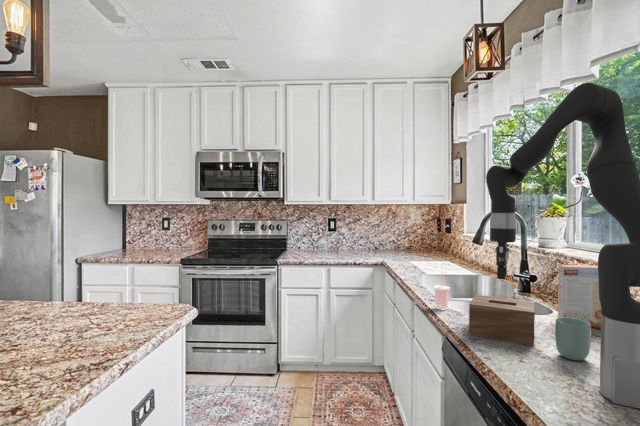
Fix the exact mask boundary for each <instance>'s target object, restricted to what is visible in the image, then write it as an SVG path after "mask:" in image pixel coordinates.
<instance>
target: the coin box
mask: <svg viewBox="0 0 640 426" xmlns="http://www.w3.org/2000/svg"><path fill="white" fill-rule="evenodd" d="M468 311H469V312H468V313H469V315H468V335H469V336H470V337H471V336H473V337H479V338H483V339H484V338H485V339H490V340H496V341H500V342H501V341H502V342H507V343H514V344H519V345H526V346H533V347H534V346H535V311H536V310H535V301H533V300H524V299H517V298H506V297H501V296H500V297H499V296H490V295H484V294H483V295H482V294H474V297H473V298H472V299H471V301H470V302H469V310H468Z"/></svg>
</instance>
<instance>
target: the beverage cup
mask: <svg viewBox="0 0 640 426" xmlns="http://www.w3.org/2000/svg"><path fill="white" fill-rule="evenodd" d="M443 275H444V274H443V273H442V274H441V276H440V279H441V280H440V282H441V284H440V285H438V284H437V285H434V286H433V288H434V304H435V305H434V306H435V307H436V308H437V309H448V307H449V296H450V290H451V287H450V286H447V285H443V278H444V277H443ZM437 309H436V310H437Z"/></svg>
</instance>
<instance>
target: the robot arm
mask: <svg viewBox="0 0 640 426" xmlns="http://www.w3.org/2000/svg"><path fill="white" fill-rule="evenodd" d="M575 121H578V122H581V123H584V124H587V125H588V126H589V128H590V131H591V133H592V138H593V141H594V147H593V151H592V153H591V154H590V157H589V158H588V162H587V165H586V175H587V179H588V183H589V188H590V191H591V192H590V193H591V195H592V196H593V197H594V199H595V200H596V202H597V203H598V204H599V205H600V206H601V207H602V209H604V210H606V212H607V213H609V214H610V215H611V216H612V217H613V218H614V219H615V220H616V221H617V222H618V223H619V224H620V226H621V227H622V229H623V230H624V233H625V234H626V236H627V240H628V242H629V243H626V242H623V243H622V242H611V243H606V244H605V245H603V246H602V247H601V248H600V251H599V253H598V257H597V266H598V279H599V299H600V304H601V328H600V348H599V349H600V357H599V392H600V394H601V395H602V396H604V397H605V398H607V399H608V400H610V401H611V402H612V403H613V404H615V405H621V406H626V407H631V408H634V409H639V410H640V301H638V300H636V299H635V298H633V296H632V295H631V289H630V287H631V288H640V174H639V170H638V167H637V164H636V162H635V159H634V156H633V152H632V148H631V145H630V141H629V138H628V133H627V130H626V122H625V115H624V106H623V101H622V98H621V96H620V95H619V93H618V92H616V91H615V90H613V89H612V88H609V87H605V86H604V85H603V86H602V85H599V84H597V83H593V82H584V83H581V84H579V85H577V86H576V87H575V88H573V89H572V90H571V91H570V92H569V93H568V94H567V95H566V96H565V97H564V98H563V99H562V101H561V102H560V103H559V104H558V105H557V106H556V108H555V109H554V110H553V111H552V113H551V114H549V116H548V117H547V118H546V119H545V121H544V122H543V124H541V126H540V127H539V128H538V129H537V131H535V133H534V134H533V135H532V136H531V137H530V138H528V139H527V141H525V142H524V143H523V144H522V145H521V146H520V147H518V148H517V149H516V150H515V151H514V152H513V153H512V154H511V156H510V157H509V162H510V164H509V165H502V164H500V165H499V164H495V165H492V166H491V167H489V169H488V171H487V172H486V176H485V180H486V181H485V182H486V186H487V190H488V194H489V198H490V201H491V204H490V218H489V241H490V242H493V243H495V242H496V243H497V246H495V261H496V262H495V264H496V267H497V269H496V270H497V273H496V274H497V276H496V278H497V279H499V280H505V279H506V275H508V274H507V271H508V269H507V267H508V265H507V264H508V261H509V257H510V255H509V254H510V247H509V245H508V243H514V242H516V241H517V239H516V238H517V237H516V236H517V235H516V234H517V228H516V227H517V219H516V198H515V197H514V195H512V194H509V193H508V192H507V188H514V187H515V186H518V185H519V184H520V183H521V182H522V181H523V180H524V179H525V178H526V176H527V175H528V174H529V172H530V170H531V169H533V168H534V167H535V166H536V165H538V164H539V163H540V162H542V161H543V160H544V159H545V158H546V157H547V156H548V155H549V154H550V153H551V151H552V149H553V148H554V145H555V142H556V141H557V137H558V136H559V135H560V133H561V132H562V130H564V129H565V128H566V127H568V126H569V125H571V124H572V123H573V122H575Z"/></svg>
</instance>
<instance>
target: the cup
mask: <svg viewBox="0 0 640 426" xmlns="http://www.w3.org/2000/svg"><path fill="white" fill-rule="evenodd" d="M554 324H555V330H554V331H555V333H554V335H555V336H554V338H555V345H556V346H555V347H556V349H557V352H558V353H559V355H561V356H562V358H564V359H567V360H571V361H574V362H575V361H583V360H586V359H587V358H588V357H589V354H590V350H591V341H592V327H591V324H590V323H589V322H587V321H584V320H580V319H576V318H569V317H560V318H558V317H557V318H556V319H555V323H554Z"/></svg>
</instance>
